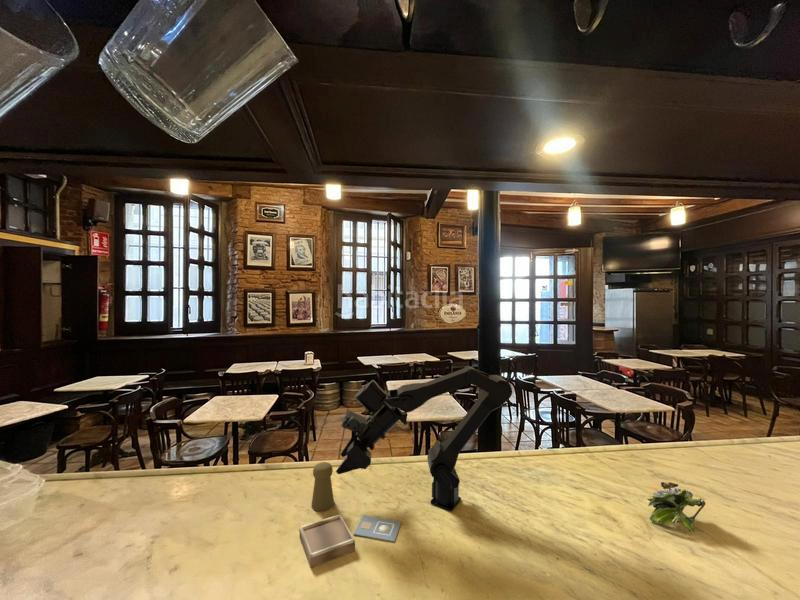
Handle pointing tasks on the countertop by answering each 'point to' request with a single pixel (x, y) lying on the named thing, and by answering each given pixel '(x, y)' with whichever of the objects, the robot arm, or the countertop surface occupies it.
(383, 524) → the blueprint card
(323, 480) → the olive pawn figure
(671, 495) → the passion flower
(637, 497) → the countertop surface
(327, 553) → the brown square tray
